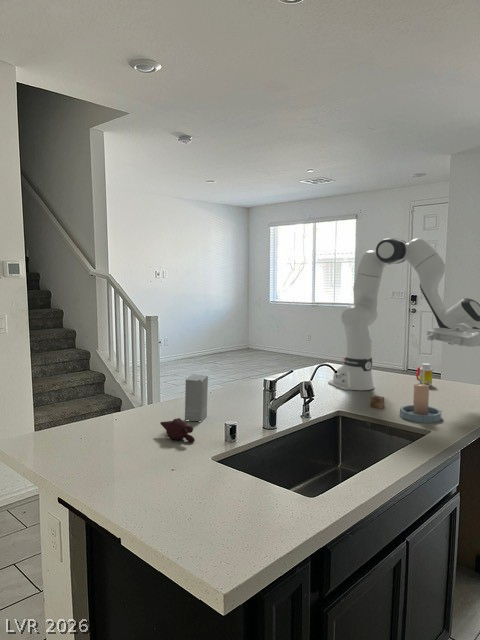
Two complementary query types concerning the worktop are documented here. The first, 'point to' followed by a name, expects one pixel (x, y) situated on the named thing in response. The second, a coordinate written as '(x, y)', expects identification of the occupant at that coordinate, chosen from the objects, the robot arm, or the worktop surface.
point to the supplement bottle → (426, 374)
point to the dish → (432, 416)
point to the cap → (418, 372)
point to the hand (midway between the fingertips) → (439, 340)
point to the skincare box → (196, 397)
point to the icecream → (178, 430)
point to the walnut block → (377, 402)
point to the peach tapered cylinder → (421, 399)
